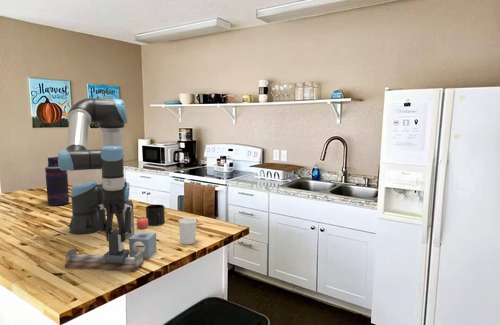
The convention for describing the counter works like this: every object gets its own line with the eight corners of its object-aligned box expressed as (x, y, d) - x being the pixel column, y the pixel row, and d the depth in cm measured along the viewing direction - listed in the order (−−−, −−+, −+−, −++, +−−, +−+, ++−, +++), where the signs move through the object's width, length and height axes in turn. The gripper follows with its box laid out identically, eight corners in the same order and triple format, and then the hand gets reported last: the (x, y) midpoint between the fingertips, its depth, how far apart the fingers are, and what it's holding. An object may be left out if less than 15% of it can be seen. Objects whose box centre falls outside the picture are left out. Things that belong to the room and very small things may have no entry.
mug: (150, 228, 173) (149, 211, 171) (144, 222, 183) (143, 205, 182) (168, 225, 177) (168, 208, 176) (161, 219, 188) (161, 203, 186)
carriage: (103, 263, 127) (102, 234, 125) (112, 257, 132) (110, 228, 131) (122, 265, 126) (120, 234, 124) (129, 258, 132) (128, 229, 130)
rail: (63, 267, 128) (62, 253, 127) (76, 259, 135) (76, 245, 135) (135, 272, 124) (135, 257, 124) (144, 263, 132) (144, 249, 132)
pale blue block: (129, 258, 136) (128, 239, 135) (138, 250, 145) (137, 231, 144) (148, 259, 136) (147, 240, 135) (156, 251, 144) (156, 232, 143)
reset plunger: (135, 229, 137) (134, 221, 137) (139, 226, 142) (139, 217, 141) (145, 230, 137) (145, 221, 136) (149, 226, 141) (149, 218, 141)
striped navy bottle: (73, 203, 219) (70, 157, 215) (54, 207, 209) (50, 159, 205) (61, 200, 227) (58, 155, 223) (42, 204, 217) (39, 157, 213)
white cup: (180, 239, 158) (179, 218, 157) (197, 238, 159) (197, 217, 158) (178, 245, 151) (177, 223, 149) (196, 245, 151) (195, 223, 150)
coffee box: (119, 233, 165) (117, 200, 163) (133, 231, 168) (131, 199, 165) (119, 239, 157) (118, 205, 155) (134, 237, 159) (133, 204, 157)
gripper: (87, 189, 123) (90, 252, 126) (129, 191, 121) (132, 254, 124) (98, 185, 130) (101, 244, 133) (139, 187, 128) (141, 247, 131)
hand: (116, 249), depth 129 cm, fingers closed on carriage, 3 cm apart
